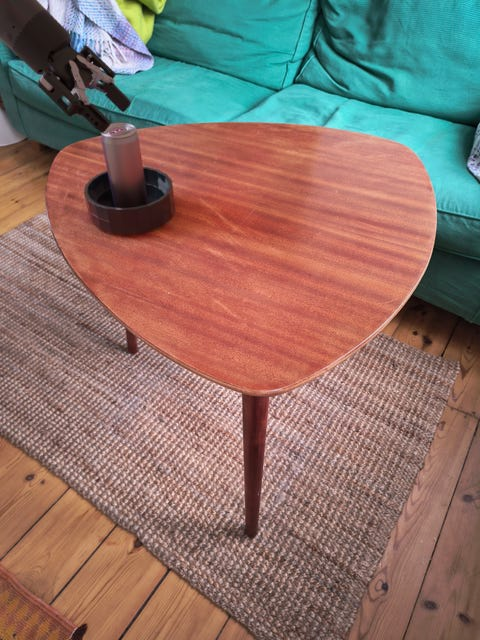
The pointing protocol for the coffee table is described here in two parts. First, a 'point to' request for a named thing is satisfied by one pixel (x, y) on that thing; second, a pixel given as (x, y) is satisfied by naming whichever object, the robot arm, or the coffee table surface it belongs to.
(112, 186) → the beverage can
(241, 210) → the coffee table surface
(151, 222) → the dark round dish
